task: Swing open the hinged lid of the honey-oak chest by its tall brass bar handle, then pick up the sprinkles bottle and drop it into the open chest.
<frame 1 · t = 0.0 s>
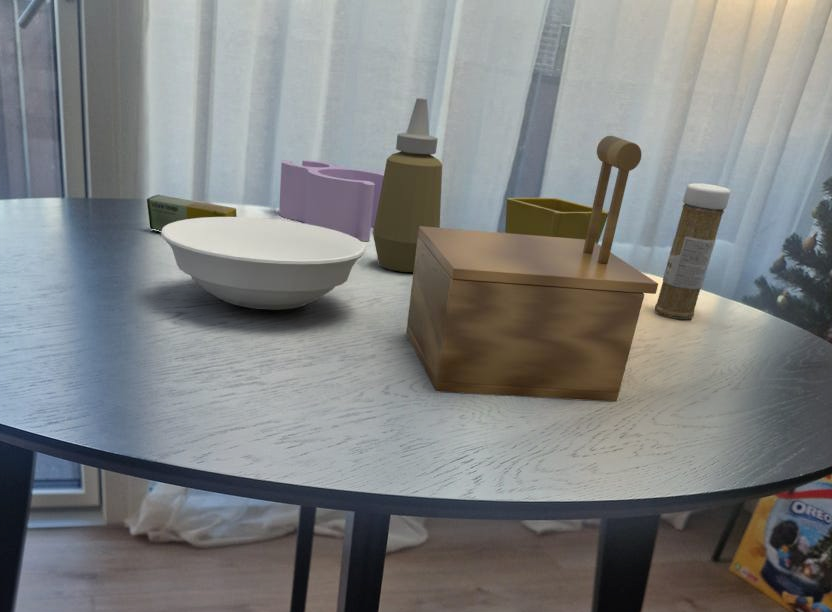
flower pot: (541, 285, 113), on the table
squeeze bottle: (402, 269, 113), on the table
clip: (336, 226, 133), on the table
medication box: (192, 240, 116), on the table
sprinkles bottle: (673, 316, 106), on the table
chest: (504, 365, 83), on the table
bowl: (262, 306, 93), on the table
chest lid: (540, 199, 76), point 14 cm above the table, hinge at 0.0°
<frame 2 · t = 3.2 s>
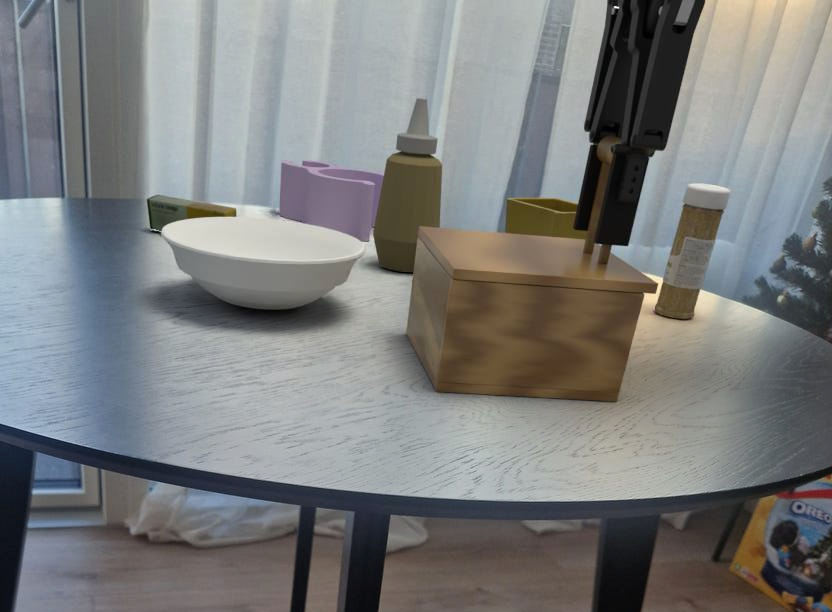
hand: (599, 236, 78), 11 cm above the table, tool pointing down, fingers closed on chest lid, 5 cm apart
chest lid: (540, 199, 76), point 14 cm above the table, hinge at 0.0°, touching gripper
everything else where it was.
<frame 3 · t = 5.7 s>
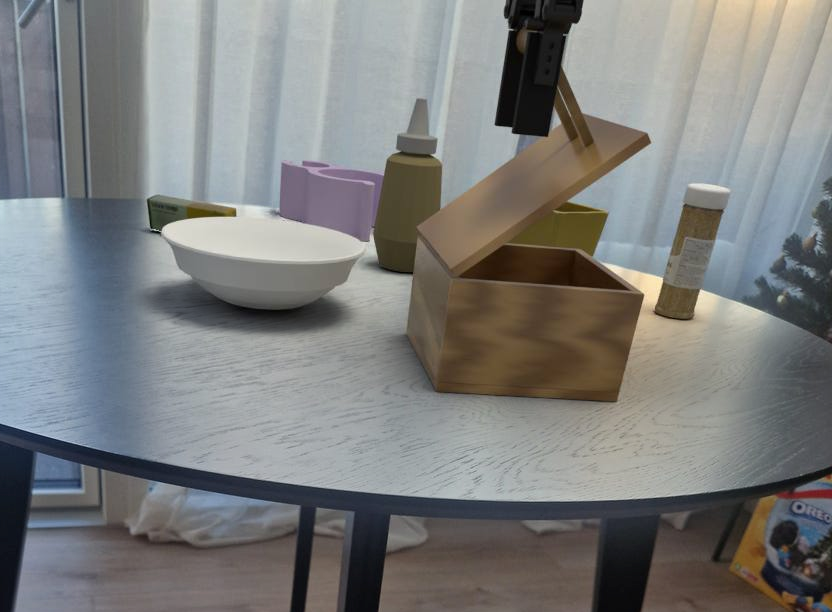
hand: (520, 130, 73), 19 cm above the table, tool pointing down, fingers closed on chest lid, 5 cm apart
chest lid: (495, 137, 73), point 18 cm above the table, hinge at 38.5°, touching gripper
everything else where it was.
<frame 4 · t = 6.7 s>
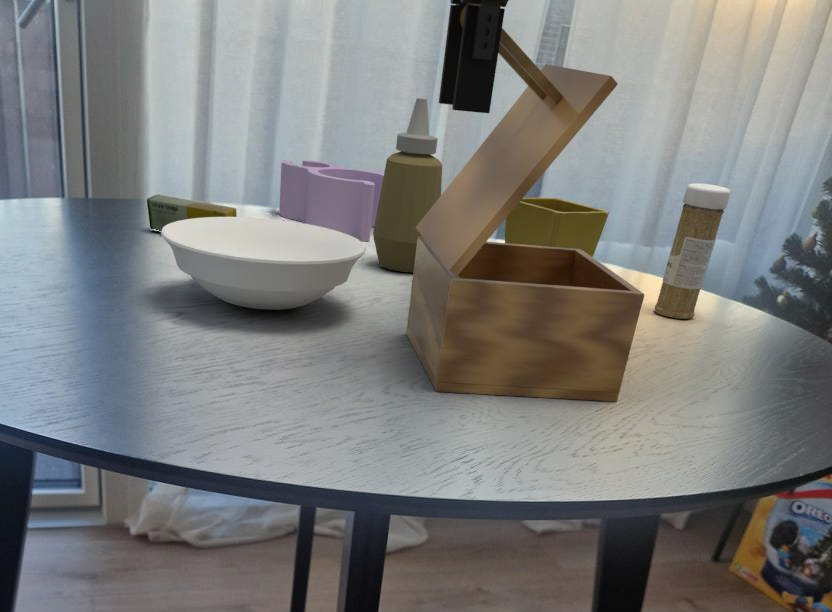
hand: (463, 107, 71), 20 cm above the table, tool pointing down, fingers closed on chest lid, 5 cm apart
chest lid: (463, 124, 72), point 19 cm above the table, hinge at 55.2°, touching gripper
everything else where it was.
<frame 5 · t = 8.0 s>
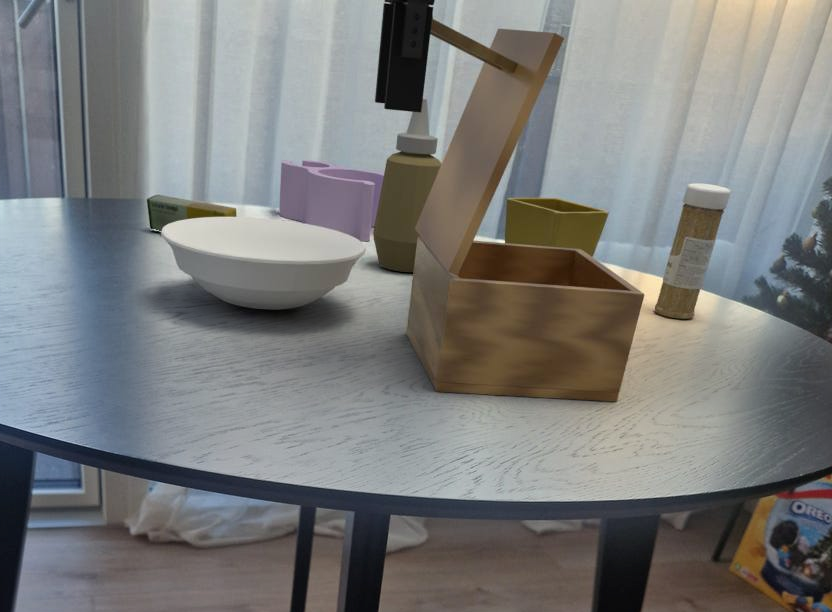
hand: (397, 106, 71), 19 cm above the table, tool pointing down, fingers closed on chest lid, 5 cm apart
chest lid: (428, 123, 72), point 18 cm above the table, hinge at 72.6°, touching gripper
everything else where it was.
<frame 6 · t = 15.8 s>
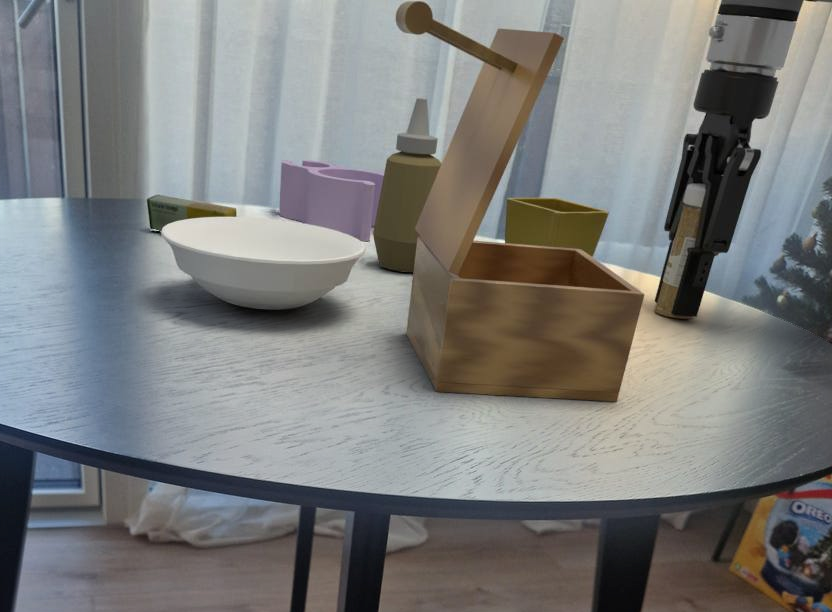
hand: (675, 308, 105), 1 cm above the table, tool pointing down, fingers closed on sprinkles bottle, 4 cm apart
sprinkles bottle: (673, 316, 106), on the table, touching gripper
chest lid: (427, 123, 72), point 18 cm above the table, hinge at 72.6°
everything else where it was.
when the fingers open (6 cm above the table, at t = 24.3 s): sprinkles bottle drops 4 cm, resting on chest.
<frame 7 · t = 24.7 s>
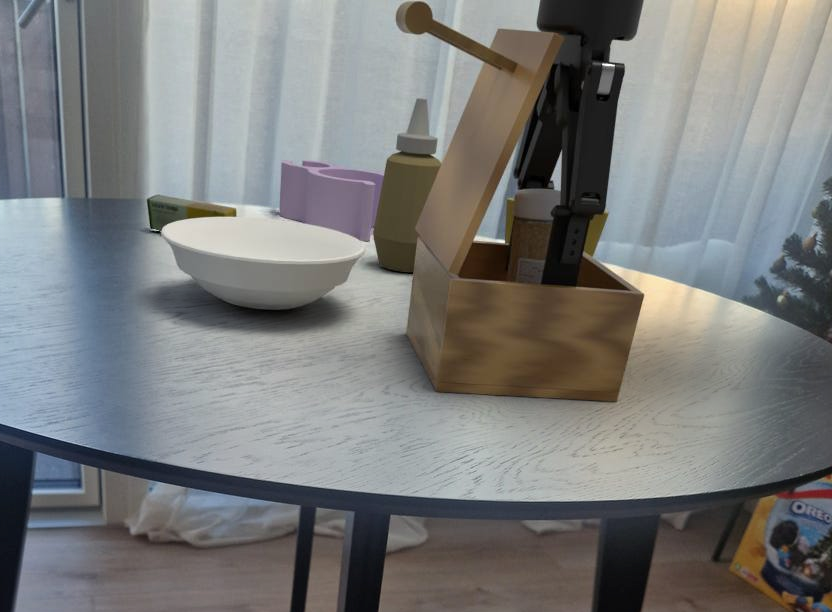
hand: (536, 286, 80), 7 cm above the table, tool pointing down, fingers open, 10 cm apart
sprinkles bottle: (522, 358, 83), point 1 cm above the table, touching chest
everything else where it was.
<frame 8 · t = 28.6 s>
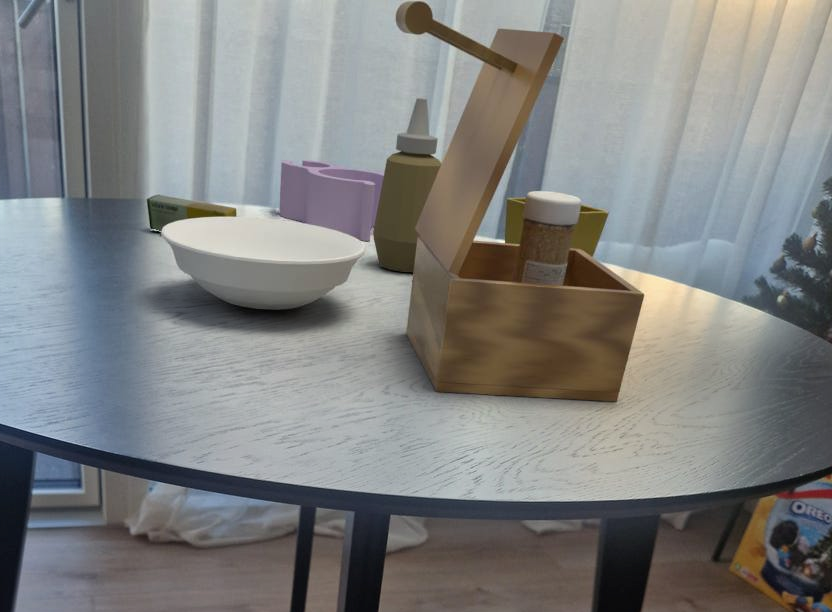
nothing on the table moved.
at the end: chest lid at +73° (first picture: +0°); sprinkles bottle inside the target area in the chest (1.6 cm from its centre), point 0.6 cm above the chest's base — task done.
